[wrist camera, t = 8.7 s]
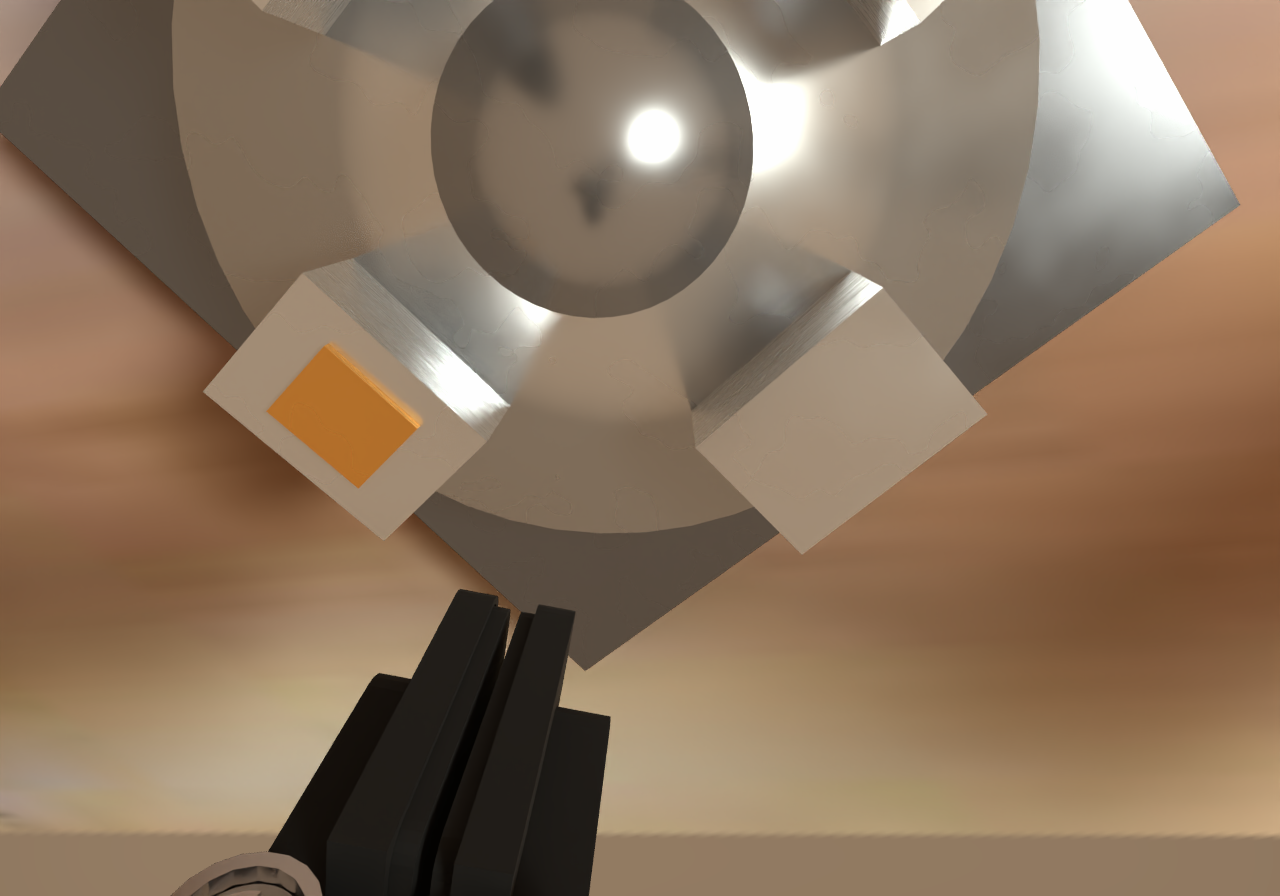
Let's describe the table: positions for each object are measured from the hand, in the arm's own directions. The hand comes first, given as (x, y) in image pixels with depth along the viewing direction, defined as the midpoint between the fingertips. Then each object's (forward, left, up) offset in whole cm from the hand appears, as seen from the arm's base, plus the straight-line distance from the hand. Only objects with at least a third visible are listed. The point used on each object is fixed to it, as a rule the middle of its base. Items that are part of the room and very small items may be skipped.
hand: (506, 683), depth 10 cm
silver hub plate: (-5, -5, -11) cm, 13 cm away
